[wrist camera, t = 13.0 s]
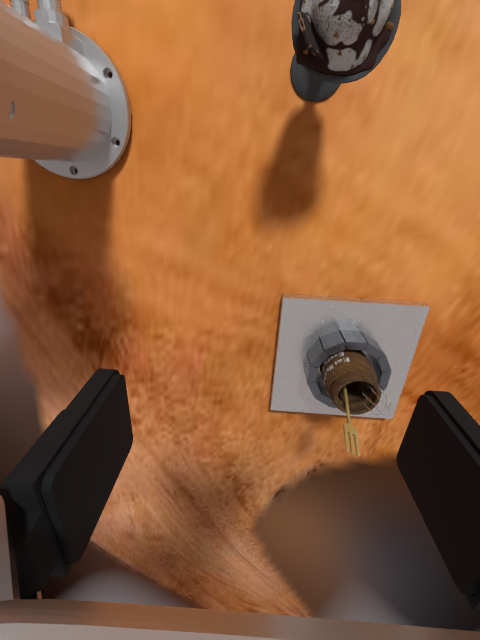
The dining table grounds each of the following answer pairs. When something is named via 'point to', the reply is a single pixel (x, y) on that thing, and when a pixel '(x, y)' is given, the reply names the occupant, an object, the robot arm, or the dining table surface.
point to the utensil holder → (351, 388)
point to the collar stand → (342, 347)
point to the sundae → (339, 42)
